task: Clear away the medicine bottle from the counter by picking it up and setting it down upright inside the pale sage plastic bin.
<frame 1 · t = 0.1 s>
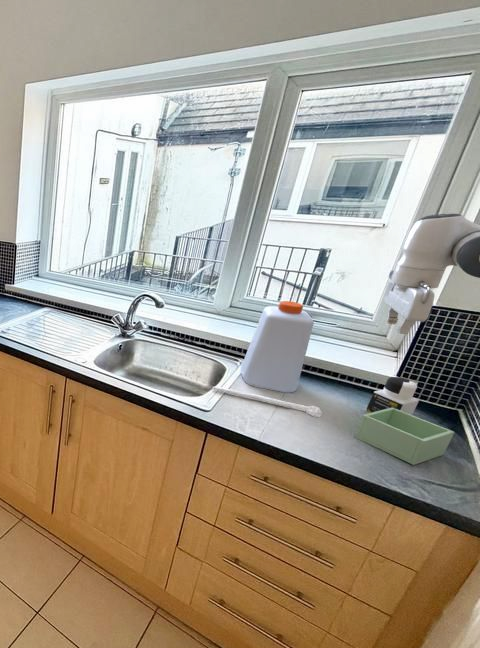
hand: (396, 328, 114), 27 cm above the countertop, tool pointing down, fingers open, 8 cm apart
plastic bottle: (266, 381, 143), on the countertop
bin: (397, 445, 109), on the countertop
white knobbed stick: (262, 403, 129), on the countertop
medicine bottle: (386, 416, 123), on the countertop
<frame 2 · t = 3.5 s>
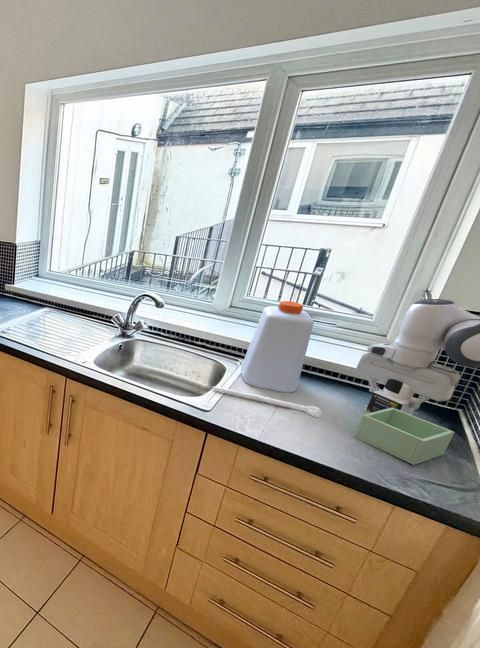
hand: (392, 399, 121), 6 cm above the countertop, tool pointing down, fingers open, 8 cm apart
nothing on the countertop moved.
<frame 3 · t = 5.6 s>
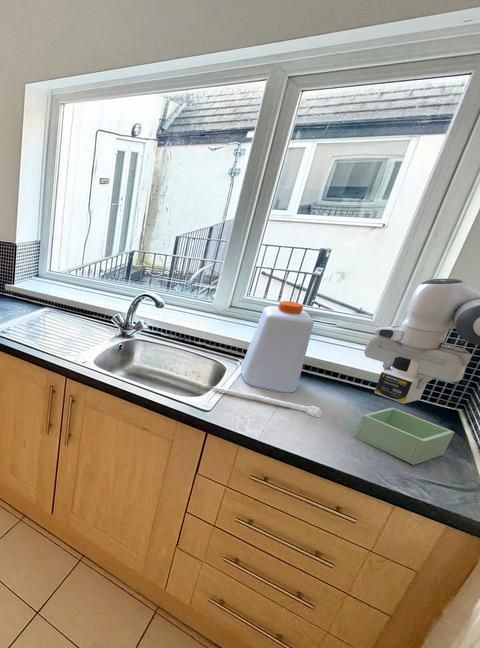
hand: (402, 383, 119), 11 cm above the countertop, tool pointing down, fingers closed on medicine bottle, 5 cm apart
medicine bottle: (396, 397, 120), point 7 cm above the countertop, touching gripper
everything else where it was.
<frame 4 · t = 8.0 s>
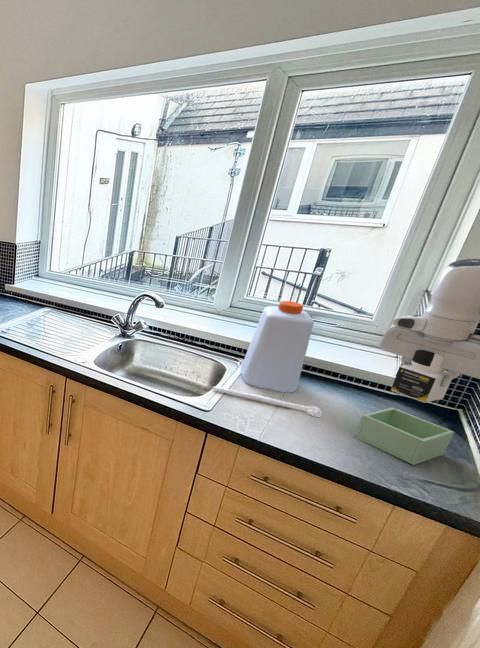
hand: (423, 379, 104), 18 cm above the countertop, tool pointing down, fingers closed on medicine bottle, 5 cm apart
medicine bottle: (415, 395, 106), point 14 cm above the countertop, touching gripper
everything else where it was.
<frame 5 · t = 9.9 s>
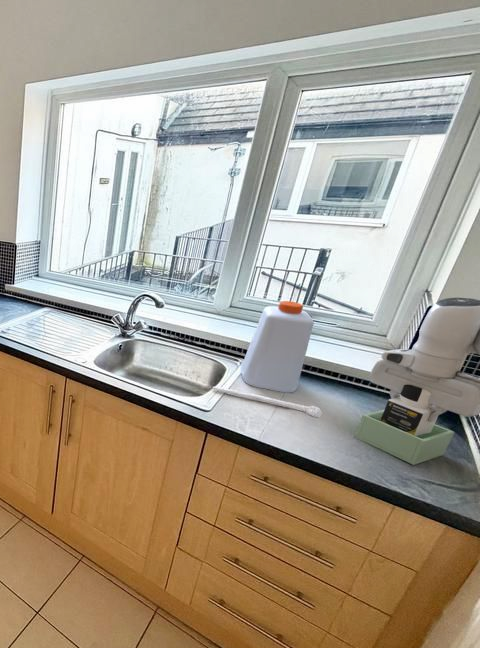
hand: (411, 413, 106), 10 cm above the countertop, tool pointing down, fingers closed on medicine bottle, 5 cm apart
medicine bottle: (404, 428, 107), point 5 cm above the countertop, touching gripper
everything else where it was.
when the fingers open (5 cm above the countertop, at t = 11.6 s): medicine bottle stays where it is, resting on bin.
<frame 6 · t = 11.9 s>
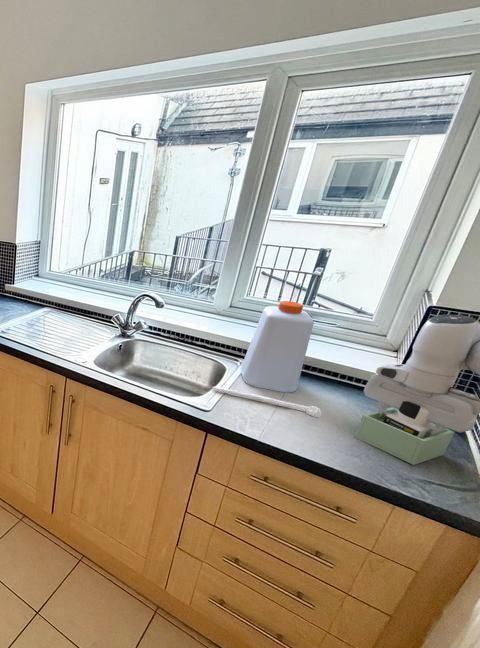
hand: (405, 427, 107), 5 cm above the countertop, tool pointing down, fingers open, 8 cm apart
medicine bottle: (399, 443, 109), point 1 cm above the countertop, touching bin, gripper
everything else where it was.
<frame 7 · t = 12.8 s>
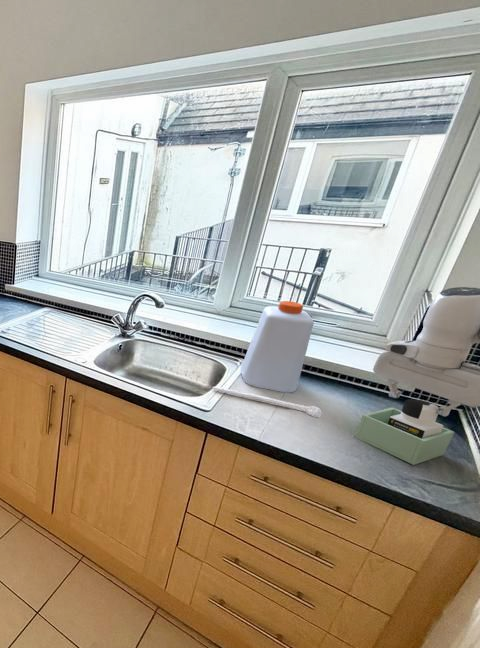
hand: (416, 405, 105), 12 cm above the countertop, tool pointing down, fingers open, 8 cm apart
medicine bottle: (407, 445, 107), point 1 cm above the countertop, touching bin
everything else where it was.
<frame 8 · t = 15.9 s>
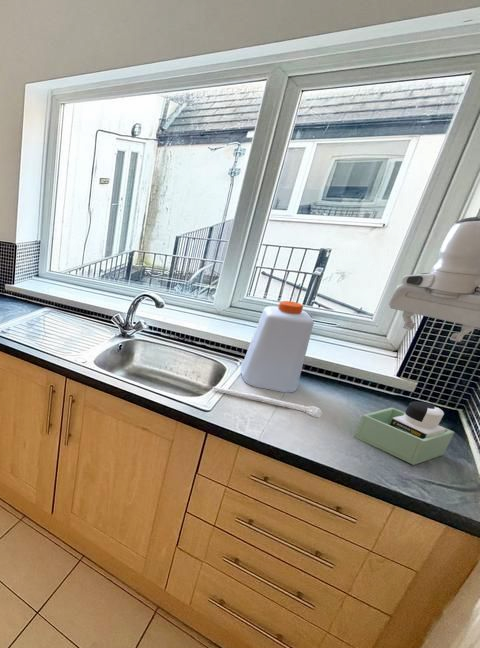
hand: (430, 334, 110), 27 cm above the countertop, tool pointing down, fingers open, 8 cm apart
at the end: medicine bottle inside the target area in the bin (1.7 cm from its centre), point 0.8 cm above the bin's base; medicine bottle tilted 2°; the gripper is holding nothing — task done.
